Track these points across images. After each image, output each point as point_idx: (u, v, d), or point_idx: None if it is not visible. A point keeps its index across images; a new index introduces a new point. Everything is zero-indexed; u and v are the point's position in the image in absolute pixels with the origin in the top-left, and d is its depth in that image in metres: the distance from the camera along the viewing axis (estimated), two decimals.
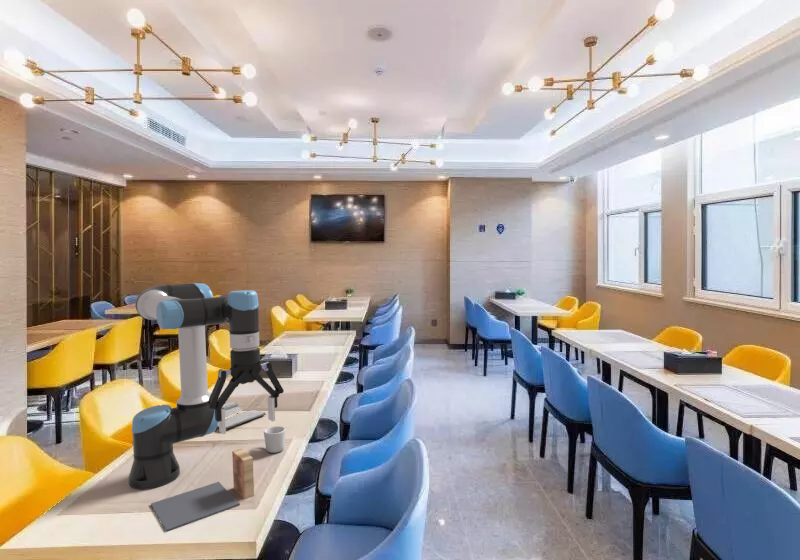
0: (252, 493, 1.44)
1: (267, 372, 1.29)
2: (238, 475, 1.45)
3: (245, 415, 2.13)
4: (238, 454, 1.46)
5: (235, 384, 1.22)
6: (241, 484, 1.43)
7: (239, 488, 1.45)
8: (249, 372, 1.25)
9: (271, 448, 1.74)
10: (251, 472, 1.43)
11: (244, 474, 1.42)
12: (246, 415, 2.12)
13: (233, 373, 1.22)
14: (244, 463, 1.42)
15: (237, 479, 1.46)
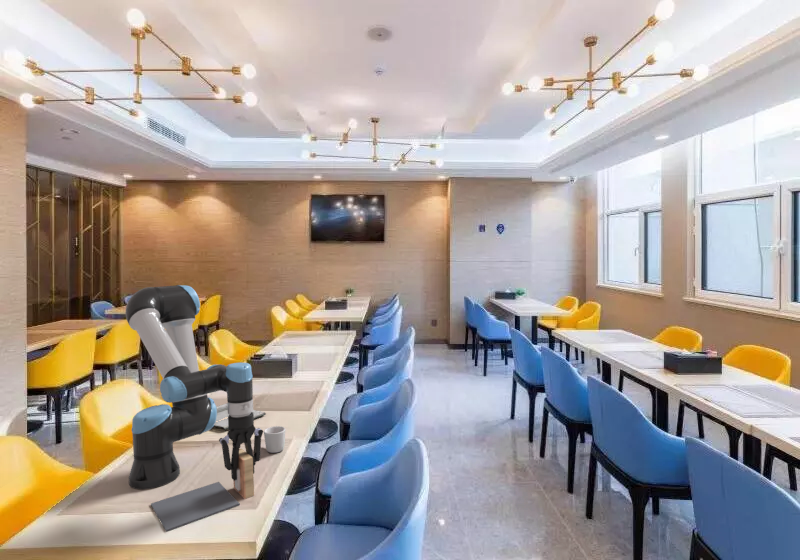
0: (252, 493, 1.44)
1: (256, 437, 1.48)
2: None
3: None
4: None
5: (237, 447, 1.43)
6: (241, 484, 1.43)
7: None
8: (244, 433, 1.45)
9: (271, 448, 1.74)
10: (251, 472, 1.43)
11: (244, 474, 1.42)
12: None
13: (231, 437, 1.42)
14: (244, 463, 1.42)
15: None
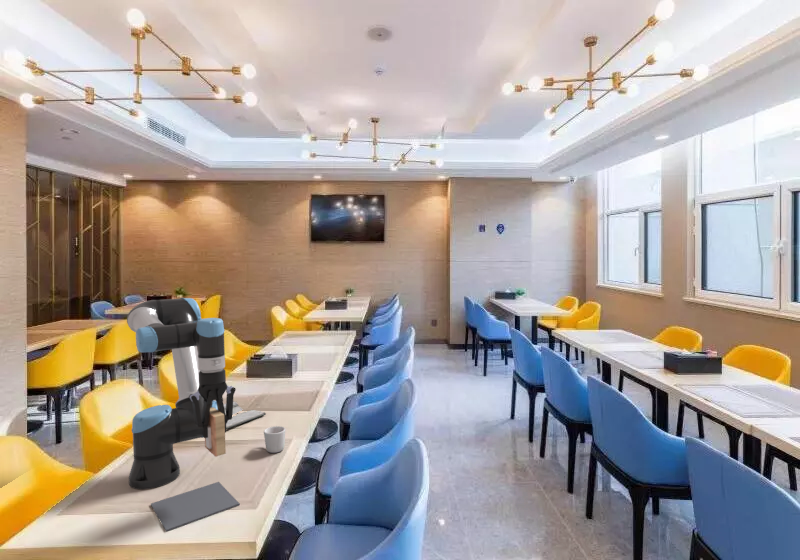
0: (223, 451, 1.40)
1: (228, 395, 1.44)
2: None
3: (245, 415, 2.13)
4: None
5: (208, 403, 1.39)
6: (212, 442, 1.40)
7: None
8: (216, 389, 1.41)
9: (271, 448, 1.74)
10: (222, 429, 1.39)
11: (215, 431, 1.38)
12: (246, 415, 2.12)
13: (202, 393, 1.38)
14: (215, 419, 1.38)
15: None
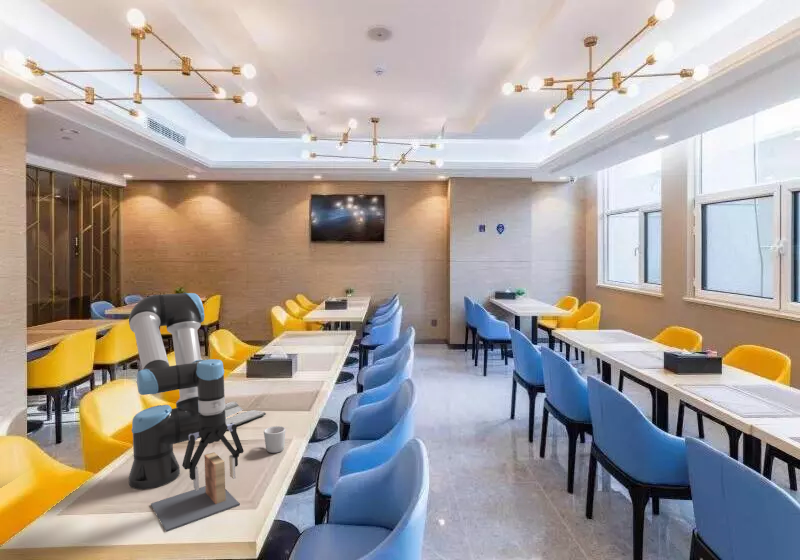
0: (223, 498, 1.40)
1: (231, 432, 1.45)
2: (209, 479, 1.41)
3: (245, 415, 2.13)
4: (210, 457, 1.43)
5: (204, 445, 1.39)
6: (212, 489, 1.40)
7: (210, 493, 1.41)
8: (215, 432, 1.41)
9: (271, 448, 1.74)
10: (222, 476, 1.40)
11: (215, 478, 1.38)
12: (246, 415, 2.12)
13: (201, 435, 1.39)
14: (215, 467, 1.38)
15: (209, 483, 1.42)
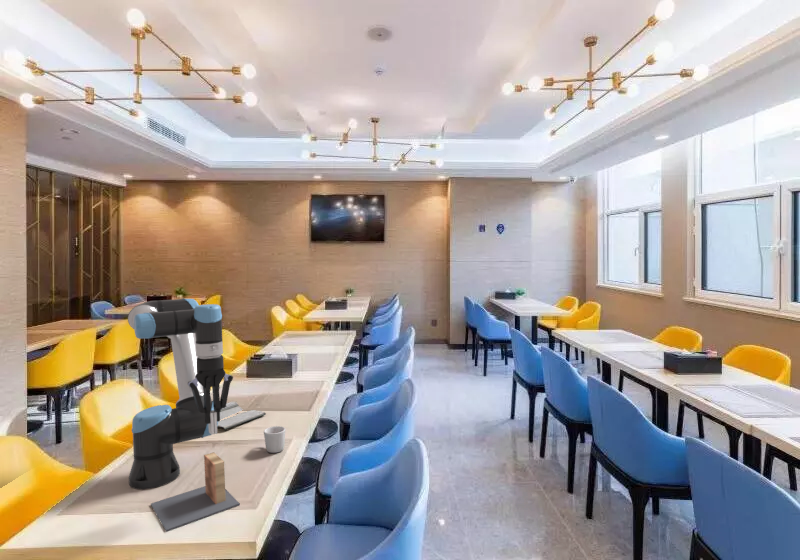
0: (223, 498, 1.40)
1: (225, 383, 1.44)
2: (209, 479, 1.41)
3: (245, 414, 2.13)
4: (209, 457, 1.42)
5: (207, 389, 1.39)
6: (212, 489, 1.40)
7: (210, 493, 1.41)
8: (214, 375, 1.40)
9: (271, 448, 1.74)
10: (222, 476, 1.40)
11: (215, 478, 1.38)
12: (246, 415, 2.12)
13: (199, 379, 1.38)
14: (215, 467, 1.38)
15: (208, 483, 1.42)
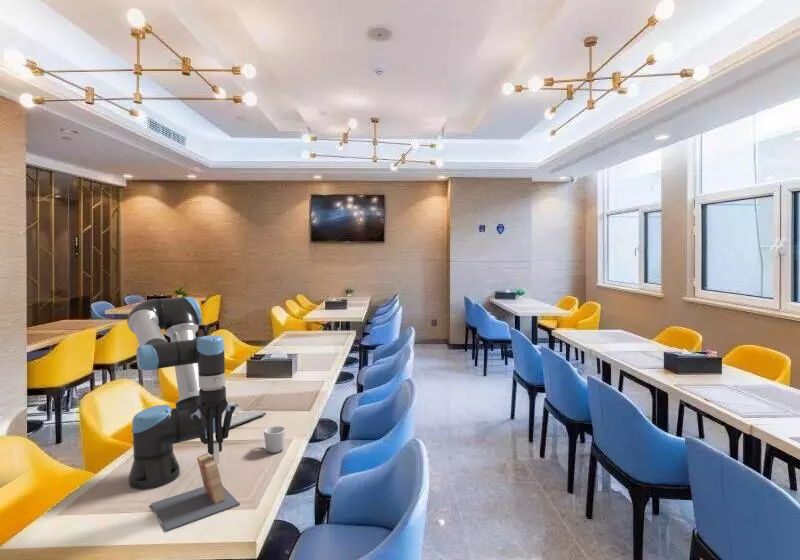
0: (223, 497, 1.40)
1: (227, 413, 1.44)
2: (206, 481, 1.41)
3: (245, 414, 2.13)
4: (202, 460, 1.41)
5: (210, 421, 1.40)
6: (210, 490, 1.39)
7: (209, 493, 1.41)
8: (216, 406, 1.41)
9: (271, 448, 1.74)
10: (218, 477, 1.39)
11: (210, 480, 1.37)
12: (246, 415, 2.12)
13: (202, 411, 1.39)
14: (208, 469, 1.37)
15: (206, 484, 1.42)
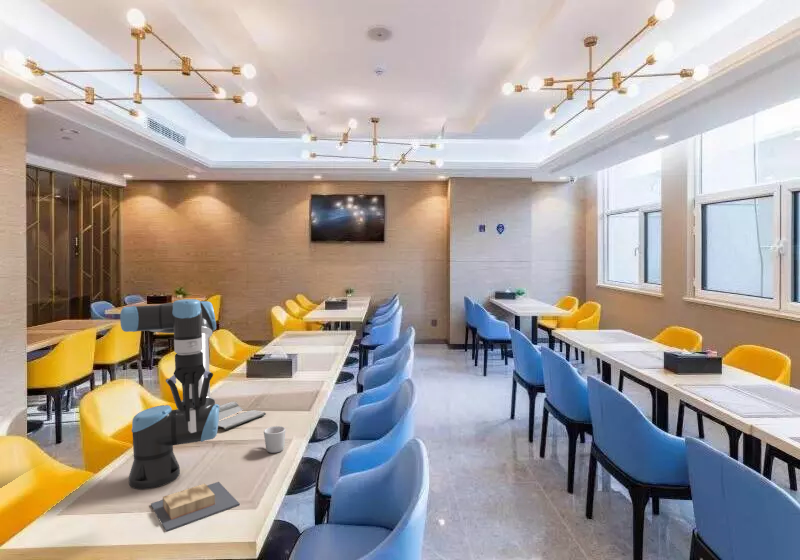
0: (211, 497, 1.38)
1: (204, 380, 1.40)
2: None
3: (245, 415, 2.13)
4: (166, 509, 1.35)
5: (186, 387, 1.35)
6: None
7: None
8: (193, 372, 1.37)
9: (271, 448, 1.74)
10: (187, 505, 1.33)
11: (188, 512, 1.33)
12: (246, 415, 2.12)
13: (178, 376, 1.34)
14: (174, 516, 1.31)
15: None
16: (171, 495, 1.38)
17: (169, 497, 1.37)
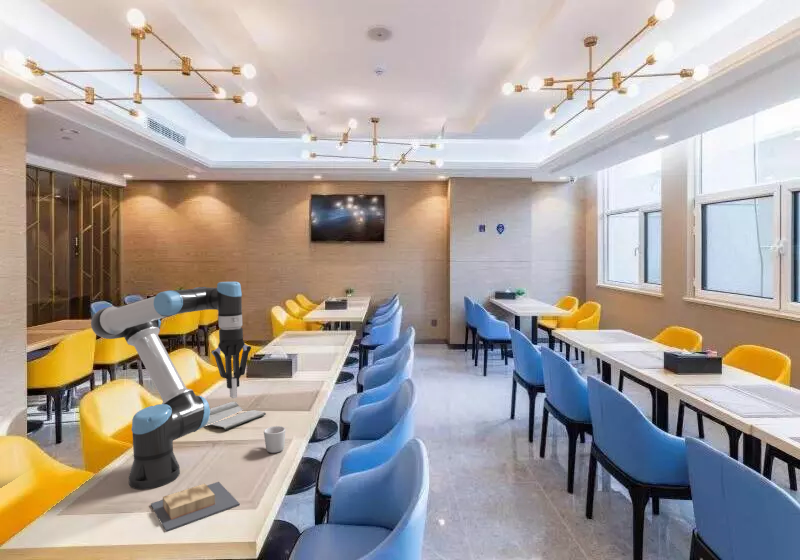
0: (211, 497, 1.38)
1: (243, 352, 1.59)
2: None
3: (245, 415, 2.13)
4: (166, 509, 1.35)
5: (229, 357, 1.55)
6: None
7: None
8: (234, 345, 1.56)
9: (271, 448, 1.74)
10: (187, 505, 1.33)
11: (188, 512, 1.33)
12: (246, 415, 2.12)
13: (222, 348, 1.54)
14: (174, 516, 1.31)
15: None
16: (171, 495, 1.38)
17: (169, 497, 1.37)
